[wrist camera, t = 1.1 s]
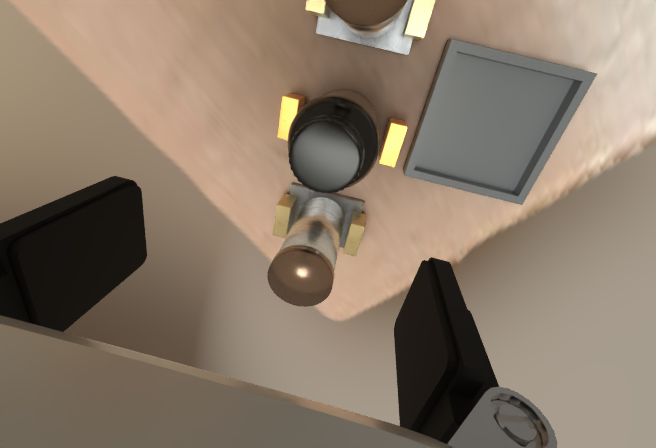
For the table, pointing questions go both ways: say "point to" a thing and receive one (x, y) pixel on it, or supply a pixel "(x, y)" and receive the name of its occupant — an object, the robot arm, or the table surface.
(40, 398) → the robot arm
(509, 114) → the tray
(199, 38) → the table surface
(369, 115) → the supplement bottle
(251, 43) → the table surface
